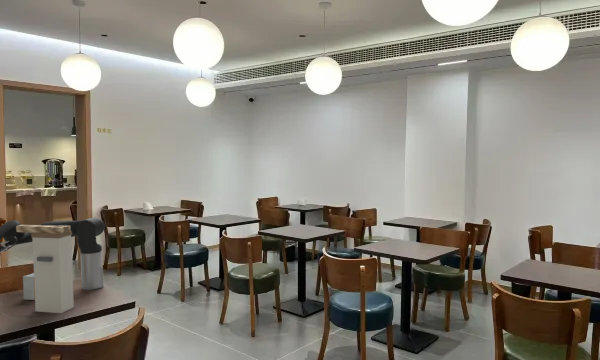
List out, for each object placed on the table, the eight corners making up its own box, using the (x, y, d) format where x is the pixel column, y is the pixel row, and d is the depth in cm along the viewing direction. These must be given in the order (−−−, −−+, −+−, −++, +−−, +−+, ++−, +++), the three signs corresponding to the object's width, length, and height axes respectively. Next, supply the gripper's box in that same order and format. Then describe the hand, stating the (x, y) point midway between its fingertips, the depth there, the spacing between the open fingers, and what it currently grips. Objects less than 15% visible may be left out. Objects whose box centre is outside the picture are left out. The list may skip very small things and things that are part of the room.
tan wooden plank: (70, 231, 177) (70, 225, 176) (61, 234, 172) (61, 227, 172) (24, 230, 181) (24, 224, 181) (14, 232, 176) (14, 226, 176)
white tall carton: (74, 306, 180) (72, 231, 178) (59, 314, 171) (56, 235, 169) (48, 305, 182) (45, 230, 180) (32, 312, 174) (28, 234, 172)
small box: (34, 300, 188) (33, 276, 188) (23, 299, 189) (22, 276, 189) (48, 294, 196) (47, 271, 196) (37, 293, 197) (36, 271, 197)
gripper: (-40, 254, 176) (-12, 236, 173) (-9, 247, 190) (17, 230, 187) (-32, 270, 176) (-3, 252, 172) (-1, 262, 190) (25, 245, 186)
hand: (7, 240), depth 180 cm, fingers open, 8 cm apart
